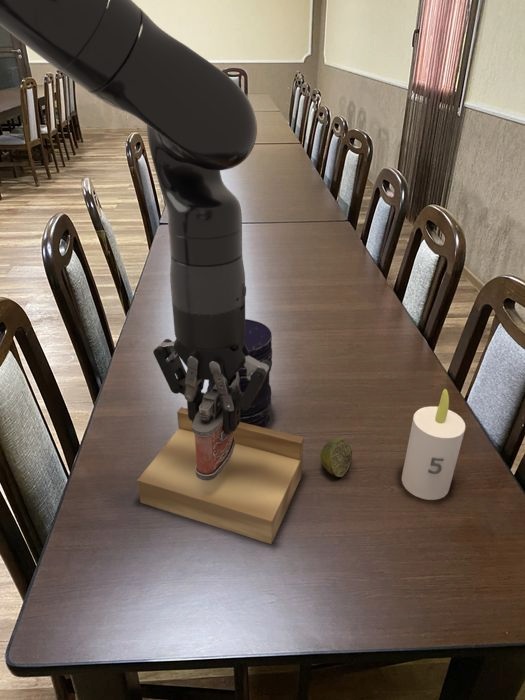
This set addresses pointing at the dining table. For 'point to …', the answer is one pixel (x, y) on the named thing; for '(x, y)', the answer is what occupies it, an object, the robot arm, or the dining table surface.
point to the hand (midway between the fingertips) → (214, 425)
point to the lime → (336, 456)
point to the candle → (433, 450)
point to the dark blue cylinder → (260, 350)
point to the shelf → (228, 480)
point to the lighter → (211, 437)
